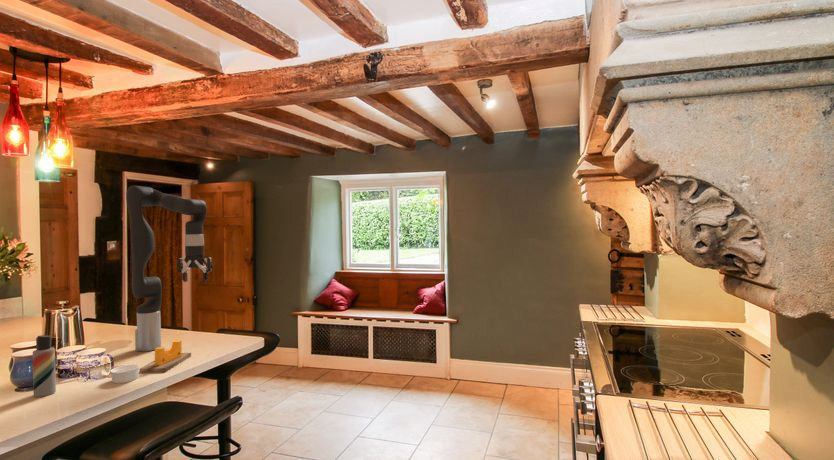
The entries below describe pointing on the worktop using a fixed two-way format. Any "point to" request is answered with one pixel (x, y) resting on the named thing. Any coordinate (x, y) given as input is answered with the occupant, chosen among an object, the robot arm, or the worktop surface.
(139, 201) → the robot arm
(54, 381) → the lotion bottle
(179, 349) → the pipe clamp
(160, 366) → the bolt plate
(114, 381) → the ramekin
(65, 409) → the worktop surface
